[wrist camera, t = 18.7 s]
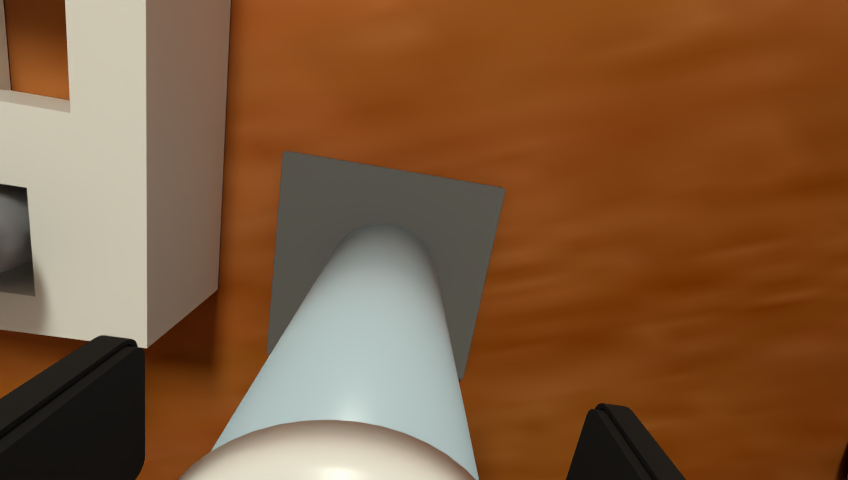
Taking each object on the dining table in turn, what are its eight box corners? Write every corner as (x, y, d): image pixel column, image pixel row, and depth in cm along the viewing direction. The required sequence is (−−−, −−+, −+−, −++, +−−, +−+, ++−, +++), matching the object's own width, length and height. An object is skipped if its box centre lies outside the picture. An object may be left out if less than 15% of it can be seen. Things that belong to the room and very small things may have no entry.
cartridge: (450, 230, 17) (570, 500, 5) (428, 336, 18) (474, 775, 6) (331, 209, 16) (102, 445, 4) (317, 319, 18) (108, 755, 5)
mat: (502, 187, 17) (505, 189, 16) (461, 371, 19) (462, 379, 19) (287, 150, 16) (283, 151, 16) (271, 346, 19) (266, 353, 18)
